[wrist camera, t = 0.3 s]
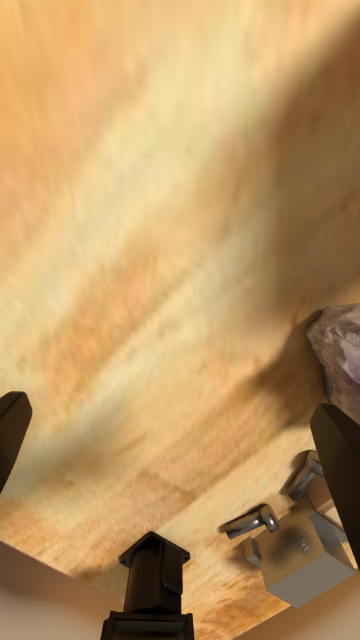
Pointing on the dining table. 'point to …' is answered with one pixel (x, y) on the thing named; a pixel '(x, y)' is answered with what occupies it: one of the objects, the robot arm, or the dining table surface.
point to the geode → (339, 355)
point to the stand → (323, 500)
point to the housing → (300, 555)
